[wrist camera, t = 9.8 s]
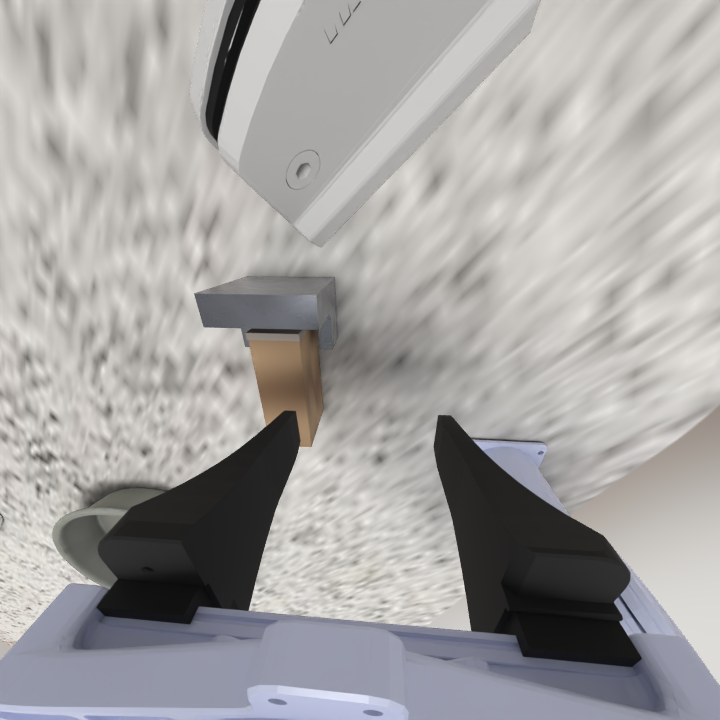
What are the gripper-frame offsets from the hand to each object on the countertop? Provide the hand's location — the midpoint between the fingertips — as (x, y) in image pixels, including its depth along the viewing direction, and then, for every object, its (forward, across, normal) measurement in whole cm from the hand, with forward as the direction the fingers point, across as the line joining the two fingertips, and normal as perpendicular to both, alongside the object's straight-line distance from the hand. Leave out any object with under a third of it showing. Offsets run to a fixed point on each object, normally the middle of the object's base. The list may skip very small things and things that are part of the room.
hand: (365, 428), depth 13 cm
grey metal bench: (+10, +6, -3) cm, 13 cm away
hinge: (+11, 0, -16) cm, 19 cm away
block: (+10, +6, +2) cm, 12 cm away
